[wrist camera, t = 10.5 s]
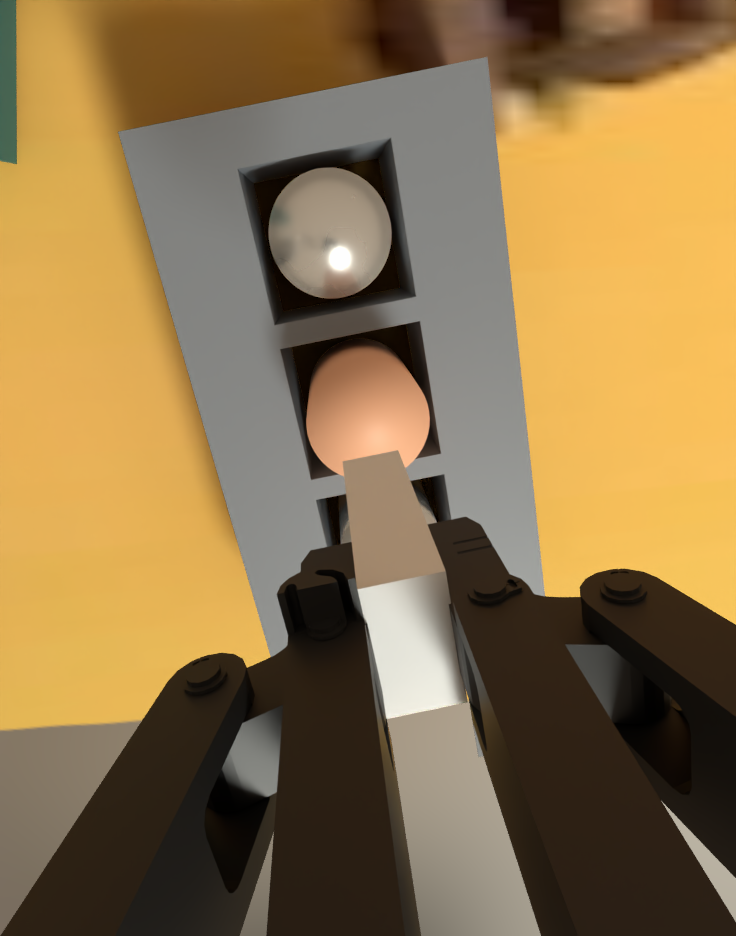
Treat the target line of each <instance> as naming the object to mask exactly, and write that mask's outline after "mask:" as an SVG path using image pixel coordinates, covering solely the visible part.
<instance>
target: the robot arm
mask: <svg viewBox="0 0 736 936" xmlns="http://www.w3.org/2000/svg"><path fill="white" fill-rule="evenodd" d="M342 462H343V471H344V480H345V488H346V497H347V506H348V515H349V523H350V532H351V541H352V542H348V543H343V544H339V545H334V546H329V547H324V548H319V549H314V550H310V552H309V553H308V554H307V556H306V557H305V558H304V560H303V561H302V562H301V571H300V572H299V573H297V574H296V575H294V576H292V577H290V578H288V579H287V580H286V581H285V582H284V583H283V584H282V585H281V586H280V588H279V590H278V592H277V598H278V601H279V605H280V608H281V612H282V616H283V619H284V623H285V627H286V630H287V634H288V643H287V646H286V647H285V648H284V649H283V650H281V651H280V652H279V653H277V654H276V655H274V656H272V657H270V658H268V659H266V660H264V661H262V662H260V663H257V664H255V665H253V666H250V667H248V668H247V667H246V665H245V663H244V661H243V659H242V658H240V657H238V656H236V655H235V654H227V653H218V654H213V655H207V656H204V657H200V658H198V659H196V660H194V661H192V662H190V663H189V664H187V665H186V666H184V667H183V668H181V669H180V670H178V671H177V672H176V673H175V674H174V675H173V677H172V678H171V679H170V680H169V681H168V682H167V684H166V685H165V687H164V688H163V690H162V691H161V693H160V694H159V696H158V697H157V699H156V700H155V702H154V704H153V705H152V707H151V708H150V710H149V711H148V713H147V714H146V716H145V717H144V719H143V720H142V722H141V723H140V725H139V726H138V728H137V730H136V731H135V732H134V734H133V736H132V737H131V739H130V740H129V741H128V743H127V745H126V746H125V748H124V749H123V751H122V752H121V754H120V755H119V757H118V758H117V760H116V761H115V763H114V764H113V766H112V767H111V769H110V770H109V772H108V773H107V775H106V776H105V778H104V780H103V781H102V782H101V784H100V785H99V787H98V789H97V790H96V792H95V793H94V795H93V796H92V798H91V799H90V801H89V802H88V804H87V805H86V807H85V808H84V810H83V811H82V813H81V814H80V816H79V817H78V819H77V820H76V822H75V823H74V825H73V826H72V828H71V830H70V831H69V833H68V834H67V836H66V837H65V839H64V840H63V842H62V843H61V845H60V846H59V848H58V849H57V851H56V852H55V854H54V855H53V857H52V859H51V860H50V861H49V863H48V864H47V866H46V867H45V869H44V871H43V872H42V874H41V875H40V877H39V878H38V880H37V881H36V883H35V884H34V886H33V887H32V889H31V890H30V892H29V893H28V895H27V896H26V898H25V899H24V901H23V902H22V904H21V906H20V907H19V908H18V910H17V911H16V913H15V915H14V916H13V918H12V919H11V921H10V922H9V924H8V925H7V927H6V928H5V930H4V931H3V933H2V934H1V936H240V933H241V930H242V927H243V924H244V920H245V917H246V914H247V911H248V908H249V905H250V902H251V899H252V896H253V893H254V890H255V887H256V884H257V881H258V878H259V875H260V871H261V869H262V866H263V863H264V860H265V856H266V853H267V850H268V847H269V844H270V841H271V838H272V835H273V832H274V839H273V852H272V866H271V880H270V894H269V909H268V923H267V936H421V932H420V926H419V919H418V912H417V906H416V899H415V893H414V886H413V879H412V873H411V866H410V860H409V853H408V847H407V840H406V834H405V827H404V820H403V814H402V807H401V801H400V794H399V788H398V781H397V774H396V768H395V761H394V755H393V748H392V742H391V737H390V732H389V728H388V723H387V719H389V718H394V717H398V716H403V715H408V714H413V713H418V712H423V711H427V710H432V709H437V708H442V707H447V706H451V705H456V704H461V703H465V702H467V696H466V691H467V694H468V697H469V703H470V709H471V715H472V720H473V727H474V733H475V739H476V745H477V751H478V756H479V757H480V756H484V759H485V762H486V765H487V768H488V772H489V775H490V778H491V781H492V784H493V787H494V790H495V793H496V796H497V799H498V803H499V806H500V809H501V812H502V815H503V818H504V822H505V825H506V828H507V831H508V834H509V837H510V840H511V843H512V846H513V850H514V853H515V856H516V859H517V862H518V865H519V868H520V871H521V874H522V877H523V880H524V884H525V887H526V890H527V893H528V896H529V899H530V902H531V906H532V909H533V912H534V915H535V918H536V921H537V924H538V927H539V931H540V933H541V936H736V922H735V920H734V919H733V917H732V915H731V914H730V912H729V910H728V909H727V907H726V906H725V904H724V902H723V901H722V899H721V897H720V896H719V894H718V893H717V891H716V889H715V888H714V886H713V885H712V883H711V881H710V880H709V878H708V877H707V875H706V873H705V872H704V870H703V868H702V867H701V865H700V863H699V862H698V860H697V859H696V857H695V855H694V854H693V852H692V850H691V849H690V847H689V845H688V844H687V842H686V841H685V839H684V837H683V836H682V834H681V833H680V831H679V829H678V828H677V826H676V824H675V823H674V821H673V819H672V818H671V816H670V815H669V813H668V812H667V810H666V808H665V806H664V805H663V803H664V804H665V805H666V806H667V807H668V808H669V809H670V810H671V811H672V812H673V813H674V814H675V815H676V816H677V817H678V818H679V819H680V820H681V821H682V823H683V824H684V825H685V826H686V827H687V828H688V829H689V830H690V831H691V832H692V833H693V834H694V835H695V836H696V837H697V838H698V839H699V840H700V841H701V842H702V843H703V844H704V845H705V847H706V848H707V849H708V850H709V851H710V852H711V853H712V854H713V855H714V856H715V857H716V858H717V859H718V860H719V861H720V862H721V863H722V864H723V865H724V866H725V867H726V868H727V869H728V870H729V872H730V873H731V874H732V875H733V876H734V877H735V878H736V625H735V624H733V623H732V622H730V621H728V620H727V619H725V618H723V617H722V616H720V615H718V614H717V613H715V612H713V611H712V610H710V609H708V608H707V607H705V606H703V605H702V604H700V603H698V602H697V601H695V600H693V599H692V598H690V597H688V596H687V595H685V594H684V593H682V592H680V591H679V590H677V589H675V588H674V587H672V586H670V585H669V584H667V583H665V582H664V581H662V580H660V579H659V578H657V577H654V576H652V575H650V574H647V573H645V572H641V571H635V570H629V569H612V570H607V571H603V572H599V573H596V574H594V575H592V576H590V577H588V578H587V579H585V581H584V582H583V583H582V585H581V586H580V596H581V597H546V596H541V595H536V594H534V593H533V592H532V590H531V588H530V587H529V585H528V584H527V583H525V582H524V581H523V580H522V579H521V578H518V577H516V576H513V575H510V574H509V572H508V570H507V569H506V567H505V565H504V564H503V562H502V560H501V558H500V557H499V555H498V553H497V552H496V550H495V548H494V547H493V545H492V543H491V541H490V540H489V538H488V537H487V535H486V533H485V531H484V529H483V528H482V526H481V524H479V523H477V522H475V521H473V520H471V519H469V518H468V517H461V518H456V519H452V520H447V521H442V522H437V523H432V524H427V522H426V520H425V517H424V515H423V512H422V510H421V507H420V504H419V502H418V499H417V497H416V494H415V492H414V489H413V487H412V484H411V482H410V479H409V477H408V474H407V471H406V469H405V466H404V464H403V461H402V459H401V456H400V454H399V451H398V450H396V451H391V452H386V453H381V454H376V455H371V456H367V457H362V458H357V459H352V460H347V461H342ZM465 688H466V690H465ZM661 801H662V802H663V803H662V802H661Z"/></svg>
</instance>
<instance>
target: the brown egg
mask: <svg viewBox="0 0 736 936" xmlns="http://www.w3.org/2000/svg"><path fill="white" fill-rule="evenodd" d="M429 424H430V416H429V409H428V404H427V401H426V399H425V396H424V394H423V392H422V390H421V389H420V387H419V386H418V384H417V383H416V381H415V380H414V378H413V377H412V375H411V374H410V372H409V371H408V369H407V368H406V366H405V365H404V363H403V362H402V360H401V359H400V358H399V356H398V355H397V354H396V353H395V352H394V351H393V350H391V349H390V348H389V347H387V346H386V345H384V344H382V343H380V342H377V341H374V340H371V339H364V338H357V339H350V340H346V341H343V342H340V343H338V344H336V345H334V346H333V347H331V348H330V349H329V350H327V351H326V352H325V353H324V354H323V355H322V356H321V358H320V359H319V360H318V362H317V364H316V365H315V367H314V370H313V372H312V376H311V380H310V389H309V399H308V408H307V418H306V427H307V434H308V438H309V441H310V444H311V446H312V448H313V450H314V452H315V453H316V455H317V456H318V458H319V459H320V460H321V461H322V462H323V463H324V464H325V465H326V466H327V467H328V468H330V469H331V470H332V471H334V472H336V473H337V474H339V475H341V476H344V471H343V462H342V461H347V460H352V459H357V458H362V457H367V456H371V455H376V454H381V453H386V452H391V451H396V450H398V451H399V454H400V456H401V459H402V461H403V464H404V466H405V468H406V467H407V466H409V465H410V464H411V463H412V462H413V461H414V460H415V458H416V457H417V456H418V455H419V453H420V451H421V450H422V448H423V446H424V444H425V442H426V439H427V436H428V432H429Z"/></svg>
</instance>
